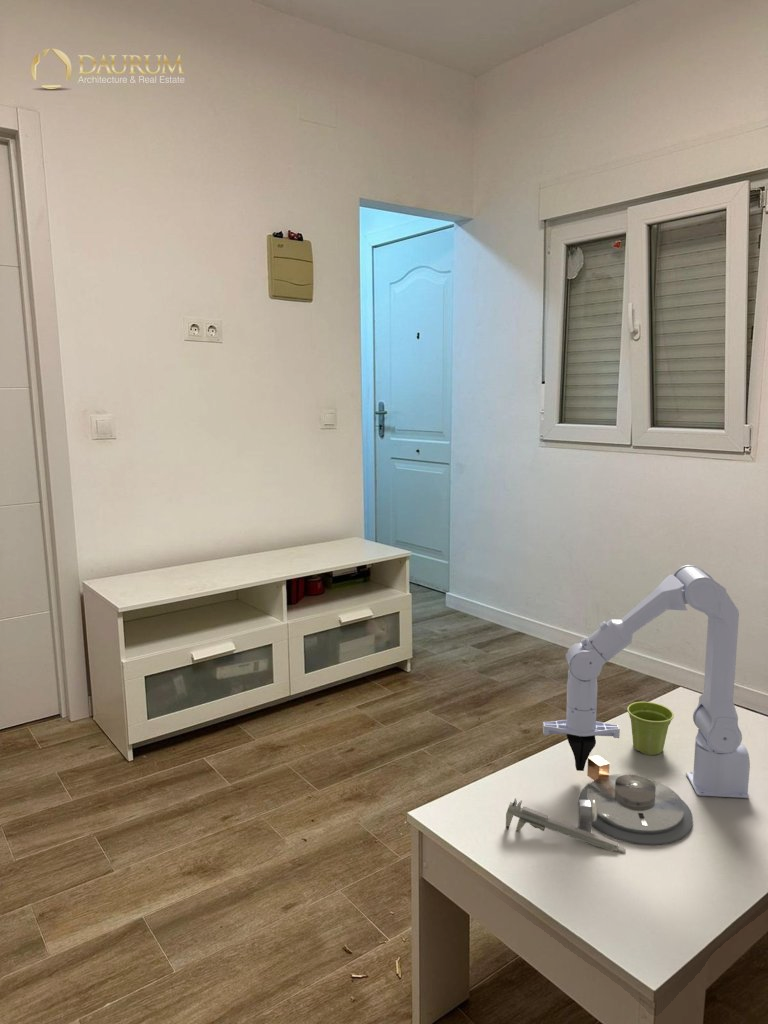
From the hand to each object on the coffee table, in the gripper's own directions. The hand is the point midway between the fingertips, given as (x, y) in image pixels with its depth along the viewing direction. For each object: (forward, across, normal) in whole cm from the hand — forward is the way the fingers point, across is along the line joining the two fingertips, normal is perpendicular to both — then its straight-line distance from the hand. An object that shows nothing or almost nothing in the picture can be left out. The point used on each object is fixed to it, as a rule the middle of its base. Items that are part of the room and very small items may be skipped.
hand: (579, 768), depth 145 cm
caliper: (+3, +5, +20) cm, 20 cm away
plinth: (+3, -9, +10) cm, 13 cm away
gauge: (+3, +1, +17) cm, 17 cm away
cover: (0, -9, +10) cm, 13 cm away
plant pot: (+3, -17, -14) cm, 22 cm away
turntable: (+2, -9, +8) cm, 12 cm away
